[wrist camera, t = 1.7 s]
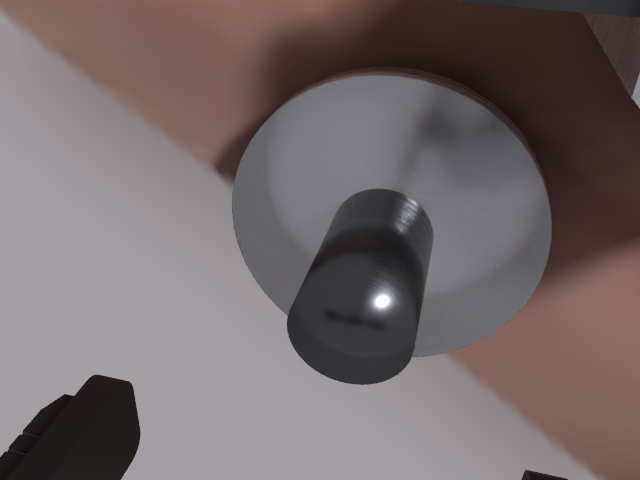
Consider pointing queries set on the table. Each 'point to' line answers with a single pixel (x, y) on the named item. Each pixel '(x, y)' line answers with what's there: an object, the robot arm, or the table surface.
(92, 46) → the table surface
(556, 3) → the pot
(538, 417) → the table surface
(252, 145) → the lid
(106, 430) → the robot arm
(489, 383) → the table surface
